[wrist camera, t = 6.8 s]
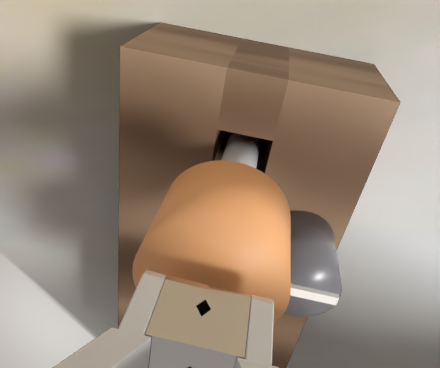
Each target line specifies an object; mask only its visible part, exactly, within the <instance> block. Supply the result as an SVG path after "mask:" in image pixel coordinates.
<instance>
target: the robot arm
mask: <svg viewBox="0 0 440 368" xmlns="http://www.w3.org/2000/svg"><path fill="white" fill-rule="evenodd" d="M273 321H274V302H273V299H269V298H265V297H261V296H256V295H250V294H248V293H244V292H239V291H235V290H230V289H225V288H221V287H216V286H212V285H205V284H201V283H197V282H193V281H190V280H186V279H182V278H178V277H174V276H170V275H165V274H161V273H157V272H153V271H149V270H146V271H145V272H144V273H143V275H142V277H141V279H140V281H139V283H138V286H137V288H136V290H135V292H134V295H133V297H132V299H131V301H130V303H129V306H128V308H127V310H126V312H125V315H124V317H123V319H122V321H121V323H120V326H119V328H118V329H117V328H112V327H111V328H110V329H108V330H107V331H105V332H104V333H102V334H101V335H100V336H98V337H97V338H95V339H94V340H92V341H91V342H89V343H88V344H86V345H85V346H84V347H82V348H81V349H79V350H78V351H76V352H75V353H73V354H72V355H70V356H69V357H68V358H66V359H65V360H63V361H62V362H60V363H59V364H57V365H56V366H54V367H53V368H279V367H276V366H272V349H273Z"/></svg>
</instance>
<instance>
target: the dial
mask: <svg viewBox="0 0 440 368" xmlns="http://www.w3.org/2000/svg"><path fill="white" fill-rule="evenodd" d="M290 215H291V291H290V300H289V304H288V306H287V309H286V311H285V312H284V313H285V314H288V315H293V316H314V315H318V314H321V313H324V312H326V311H328V310H329V309H331V308H332V307H333V306H334V305H336V304H337V302H338V300H339V299H340V296H341V292H342V287H341V280H340V273H339V267H338V260H337V253H336V246H335V239H334V233H333V230H332V228H331V226H330V224H329V223H328V222H327V221H326V220H325V219H324V218H322V217H321V216H319V215H317V214H314V213H312V212H308V211H290Z"/></svg>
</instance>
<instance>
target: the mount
mask: <svg viewBox="0 0 440 368" xmlns="http://www.w3.org/2000/svg"><path fill="white" fill-rule="evenodd" d="M399 105H400V101H399V99H398V98H397V97H396V95H395V94H394V92H393V91H392V89H391V88H390V86H389V85H388V84H387V82H386V81H385V79H384V78H383V76H382V75H381V74H380V72H379V71H378V69H377V68H376V66H375V65H374V64H370V63H365V62H359V61H354V60H349V59H344V58H339V57H334V56H329V55H324V54H319V53H313V52H308V51H303V50H298V49H293V48H288V47H283V46H278V45H272V44H267V43H262V42H257V41H252V40H247V39H242V38H237V37H232V36H226V35H221V34H216V33H211V32H206V31H201V30H196V29H191V28H185V27H180V26H175V25H170V24H165V23H159V24H157V25H155V26H154V27H152V28H150V29H149V30H147V31H145V32H144V33H142V34H140V35H138V36H137V37H135V38H133V39H132V40H130V41H128V42H127V43H125V44H123V45H121V46H120V130H119V268H118V328H119V326H120V323H121V321H122V319H123V317H124V315H125V312H126V310H127V308H128V306H129V303H130V301H131V299H132V297H133V295H134V292H135V290H136V287H135V284H134V280H133V272H132V268H133V262H134V259H135V256H136V254H137V252H138V250H139V248H140V246H141V244H142V242H143V240H144V238H145V236H146V234H147V232H148V230H149V228H150V226H151V224H152V222H153V220H154V218H155V216H156V214H157V212H158V210H159V208H160V206H161V204H162V202H163V200H164V198H165V196H166V194H167V192H168V190H169V188H170V186H171V184H172V183H173V182H174V180H175V179H176V178H177V177H178V176H179V175H180V174H181V173H183V172H184V171H185V170H187V169H189V168H191V167H193V166H194V165H197V164H200V163H204V162H208V161H217V160H222V157H223V153H224V150H225V147H226V144H227V141H228V139H229V137H230V136H231V135H232V134H234V133H237V134H242V135H247V136H251V137H256V138H257V140H258V142H259V154H258V161H257V167H256V169H258V170H260V171H262V172H263V173H265V174H266V175H267V176H269V177H270V178H271V179H272V180H273V181H274V182H275V183H276V184H277V185H278V186H279V187H280V188H281V190H282V191H283V193H284V195H285V197H286V199H287V201H288V204H289V208H290V211H308V212H312V213H314V214H317V215H319V216H321V217H322V218H324V219H325V220H326V221H327V222H328V223H329V224H330V226H331V228H332V230H333V233H334V239H335V246H336V250H337V248H338V246H339V243H340V241H341V239H342V237H343V234H344V232H345V230H346V227H347V225H348V223H349V220H350V218H351V216H352V213H353V211H354V209H355V206H356V204H357V202H358V200H359V197H360V195H361V193H362V190H363V188H364V186H365V183H366V181H367V179H368V176H369V174H370V172H371V169H372V167H373V165H374V163H375V160H376V158H377V156H378V153H379V151H380V149H381V146H382V144H383V142H384V139H385V137H386V135H387V133H388V130H389V128H390V126H391V123H392V121H393V119H394V116H395V114H396V112H397V109H398V107H399ZM307 317H308V316H293V315H288V314H285V313H284V314H283V315H282V317H281V318H280V319H279V320H278V321H277V322H276V323H275V324H273V349H272V366H276V367H279V368H286V366H287V364H288V361H289V359H290V357H291V354H292V352H293V350H294V347H295V345H296V343H297V341H298V338H299V336H300V334H301V331H302V329H303V327H304V324H305V322H306V320H307Z"/></svg>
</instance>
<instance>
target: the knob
mask: <svg viewBox="0 0 440 368" xmlns="http://www.w3.org/2000/svg"><path fill="white" fill-rule="evenodd" d="M258 154H259V142H258V140H257V138H256V137H251V136H247V135H242V134H237V133H234V134H232V135H231V136H230V137H229V139H228V141H227V144H226V147H225V150H224V153H223V157H222V160H217V161H208V162H204V163H200V164H197V165H194V166H193V167H191V168H189V169H187V170H185V171H184V172H183V173H181V174H180V175H179V176H178V177H177V178H176V179H175V180H174V182H173V183H172V184H171V186H170V188H169V190H168V192H167V194H166V196H165V198H164V200H163V202H162V204H161V206H160V208H159V210H158V212H157V214H156V216H155V218H154V220H153V222H152V224H151V226H150V228H149V230H148V232H147V234H146V236H145V238H144V240H143V242H142V244H141V246H140V248H139V250H138V252H137V254H136V256H135V259H134V262H133V268H132V272H133V280H134V284H135V287H136V288H137V286H138V283H139V281H140V279H141V277H142V275H143V273H144V272H145V271H146V270H149V271H153V272H157V273H161V274H165V275H170V276H174V277H178V278H182V279H186V280H190V281H193V282H197V283H201V284H205V285H212V286H216V287H221V288H225V289H230V290H235V291H239V292H244V293H248V294H250V295H256V296H261V297H265V298H269V299H273V302H274V321H273V324H275V323H276V322H277V321H278V320H279V319H280V318H281V317H282V315H283V314H284V312H285V311H286V309H287V306H288V304H289V300H290V291H291V215H290V208H289V204H288V201H287V199H286V197H285V195H284V193H283V191H282V190H281V188H280V187H279V186H278V185H277V184H276V183H275V182H274V181H273V180H272V179H271V178H270V177H269V176H267V175H266V174H265V173H263V172H262V171H260V170H258V169H256V167H257V161H258Z"/></svg>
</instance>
